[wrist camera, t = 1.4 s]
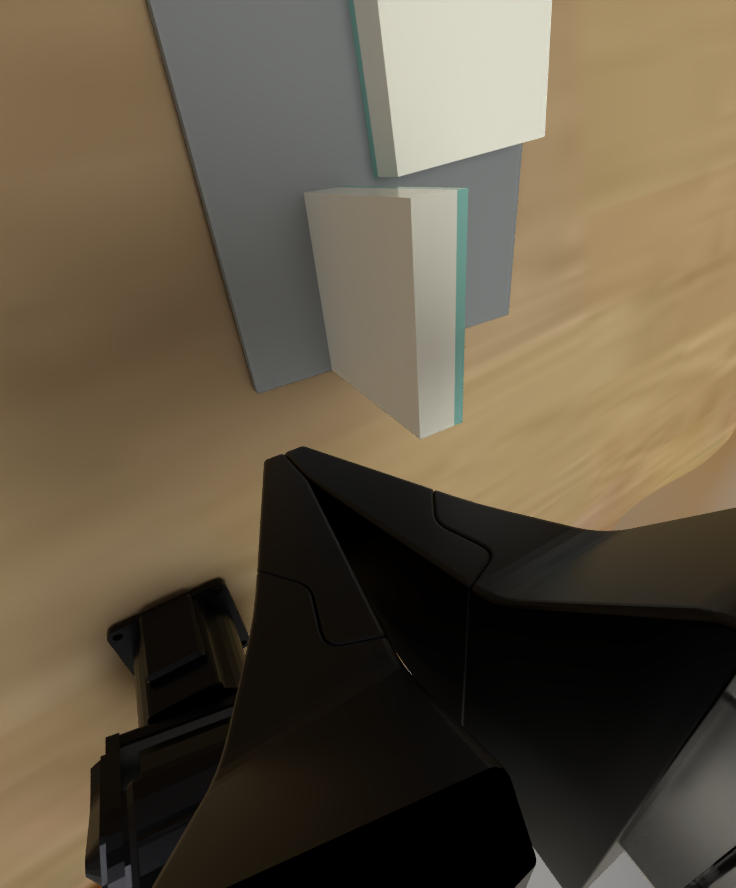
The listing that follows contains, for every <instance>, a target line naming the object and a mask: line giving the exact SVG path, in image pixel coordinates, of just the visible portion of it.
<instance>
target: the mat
mask: <svg viewBox="0 0 736 888" xmlns="http://www.w3.org/2000/svg"><path fill="white" fill-rule="evenodd" d="M146 2H147V5H148V9H149V13H150V16H151V20H152V24H153V27H154V31H155V34H156V38H157V42H158V45H159V49H160V52H161V56H162V60H163V63H164V67H165V70H166V74H167V78H168V81H169V85H170V88H171V92H172V96H173V99H174V103H175V106H176V110H177V114H178V117H179V121H180V124H181V128H182V132H183V135H184V139H185V142H186V146H187V150H188V153H189V157H190V160H191V164H192V168H193V171H194V175H195V178H196V182H197V186H198V189H199V193H200V196H201V200H202V204H203V207H204V211H205V214H206V218H207V222H208V225H209V229H210V232H211V236H212V240H213V243H214V247H215V250H216V254H217V258H218V261H219V265H220V268H221V272H222V276H223V279H224V283H225V286H226V290H227V294H228V297H229V301H230V304H231V308H232V312H233V315H234V319H235V322H236V326H237V330H238V333H239V337H240V340H241V344H242V348H243V351H244V355H245V358H246V362H247V366H248V369H249V373H250V376H251V380H252V384H253V387H254V390H255V391H256V392H257V394H259V393H262V392H265V391H268V390H271V389H274V388H278V387H281V386H284V385H287V384H290V383H293V382H297V381H300V380H303V379H306V378H309V377H312V376H316V375H319V374H322V373H325V372H328V371H331V370H332V367H331V361H330V355H329V349H328V342H327V336H326V330H325V324H324V317H323V311H322V305H321V299H320V292H319V286H318V280H317V274H316V267H315V261H314V255H313V249H312V242H311V236H310V230H309V224H308V217H307V211H306V205H305V199H304V192H311V191H317V190H324V189H330V188H337V187H343V186H381V187H446V188H468V221H467V259H466V298H465V328H467V327H471V326H474V325H477V324H480V323H483V322H486V321H490V320H493V319H496V318H499V317H502V316H505V315H508V313H509V301H510V289H511V277H512V265H513V252H514V240H515V228H516V216H517V204H518V192H519V180H520V168H521V155H522V143H520V144H516V145H512V146H509V147H505V148H501V149H498V150H494V151H491V152H487V153H483V154H480V155H476V156H472V157H469V158H465V159H461V160H458V161H454V162H451V163H447V164H443V165H440V166H436V167H432V168H429V169H425V170H421V171H418V172H414V173H410V174H407V175H403V176H400V177H374V175H373V168H372V161H371V155H370V148H369V141H368V134H367V127H366V120H365V114H364V107H363V100H362V93H361V86H360V79H359V72H358V66H357V59H356V52H355V45H354V38H353V31H352V24H351V18H350V11H349V4H348V0H146Z"/></svg>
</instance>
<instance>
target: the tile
mask: <svg viewBox="0 0 736 888" xmlns="http://www.w3.org/2000/svg"><path fill="white" fill-rule="evenodd" d="M304 199H305V205H306V211H307V217H308V224H309V230H310V236H311V242H312V249H313V255H314V261H315V267H316V274H317V280H318V286H319V292H320V299H321V305H322V311H323V317H324V324H325V330H326V336H327V342H328V349H329V355H330V361H331V367H332V371H334V372H335V373H336V374H337V375H339V376H340V377H341V378H342V379H344V380H345V381H346V382H348V383H349V384H350V385H351V386H353V387H354V388H355V389H356V390H358V391H359V392H360V393H362V394H363V395H364V396H365V397H367V398H368V399H369V400H370V401H372V402H373V403H374V404H376V405H377V406H378V407H379V408H381V409H382V410H383V411H385V412H386V413H387V414H388V415H390V416H391V417H392V418H393V419H395V420H396V421H397V422H399V423H400V424H401V425H402V426H404V427H405V428H406V429H407V430H409V431H410V432H411V433H413V434H414V435H415V436H416V437H418V438H419V439H422V438H425V437H427V436H430V435H432V434H435V433H437V432H440V431H442V430H444V429H447V428H449V427H452V426H454V425H457V424H459V423H461V422H462V415H463V376H464V337H465V298H466V259H467V221H468V188H446V187H381V186H343V187H337V188H330V189H324V190H317V191H311V192H304Z"/></svg>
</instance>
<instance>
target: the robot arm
mask: <svg viewBox="0 0 736 888" xmlns="http://www.w3.org/2000/svg"><path fill="white" fill-rule="evenodd" d="M257 573H258V574H257V580H256V594H255V603H254V612H253V620H252V625H251V630H250V636H249V635H248V632H247V630H246V628H245V626H244V623H243V621H242V619H241V617H240V614H239V612H238V610H237V608H236V605H235V603H234V601H233V599H232V596H231V594H230V592H229V590H228V587H227V585H226V583H225V581H224V580H222V579H217V580H214V581H212V582H210V583H208V584H205V585H203V586H201V587H199V588H197V589H194V590H192V591H190V592H188V593H186V594H183V595H181V596H179V597H177V598H175V599H172V600H170V601H168V602H166V603H164V604H161V605H159V606H157V607H155V608H153V609H150V610H148V611H146V612H144V613H142V614H139V615H137V616H135V617H133V618H131V619H129V620H126V621H124V622H122V623H120V624H118V625H115V626H113V627H112V628H110V629H109V630H108V632H107V640H108V643H109V644H110V645H111V646H112V648H113V649H114V650H115V652H116V653H117V654H118V655H119V657H120V658H121V659H122V661H123V662H124V663H125V665H126V666H127V667H128V668H129V670H130V671H131V672H132V674H133V675H134V677H135V688H136V700H137V711H138V723H139V728H137V729H134V730H131V731H129V732H126V733H123V734H120V735H119V733H117V734H114V735H111V736H108V737H106V755H103V756H101V759H100V761H99V762H97V763H96V764H95V765H94V766H93V767H92V768H91V797H90V817H89V827H88V836H87V846H86V856H85V873H86V877H87V878H89V879H90V880H92V881H94V882H95V883H97V884H99V885H101V886H102V888H526V886H527V883H528V881H529V879H530V876H531V874H532V872H533V869H534V867H535V865H536V856H535V853H534V849H535V850H536V851H537V853H538V854H539V855H540V857H541V858H542V860H543V861H544V863H545V864H546V866H547V867H548V868H549V870H550V871H551V873H552V874H553V875H554V877H555V878H556V880H557V881H558V882H559V884H560V885H561V887H562V888H588V887H589V886H590V885H591V884H592V883H593V882H594V881H595V880H596V879H597V878H598V877H599V876H600V875H601V874H602V873H603V872H604V871H605V870H606V869H607V868H608V867H609V865H611V864H612V863H613V862H614V861H615V860H616V859H617V858H618V856H620V854H622V853H623V852H625V853H626V854H627V856H628V857H629V858H630V859H631V861H632V862H633V863H634V864H635V866H636V867H637V868H638V869H639V870H640V872H641V873H642V874H643V876H644V877H645V878H646V879H647V881H648V882H649V883H650V884H651V886H652V887H653V888H736V508H732V509H727V510H722V511H717V512H712V513H707V514H702V515H697V516H692V517H687V518H682V519H677V520H672V521H667V522H662V523H657V524H652V525H647V526H642V527H637V528H632V529H626V530H617V531H595V530H586V529H581V528H576V527H571V526H567V525H563V524H559V523H555V522H550V521H546V520H542V519H538V518H534V517H529V516H525V515H521V514H517V513H513V512H508V511H504V510H501V509H497V508H493V507H489V506H485V505H481V504H478V503H474V502H471V501H468V500H464V499H461V498H458V497H455V496H452V495H449V494H446V493H443V492H440V491H434V493H433V490H432V489H430V488H427V487H424V486H421V485H418V484H415V483H412V482H409V481H406V480H403V479H400V478H397V477H394V476H391V475H388V474H385V473H382V472H379V471H376V470H373V469H370V468H367V467H364V466H361V465H358V464H355V463H352V462H349V461H346V460H343V459H340V458H337V457H334V456H331V455H328V454H325V453H322V452H319V451H316V450H313V449H310V448H307V447H304V446H303V447H299V448H296V449H294V450H291V451H288V452H286V454H285V455H283V454H280V455H278V456H275V457H272V458H270V459H267V460H265V462H264V472H263V488H262V504H261V520H260V536H259V552H258V568H257ZM218 587H220V588H218ZM216 588H218V589H216ZM116 634H119V635H116ZM246 646H247V651H246V655H245V654H244V650H243V648H245V647H246ZM395 651H396V652H395ZM396 653H397V654H398V655H397V654H396ZM398 656H399V657H400V658H401V660H402V661H403V663H404V664H405V666H406V667H407V668H408V670H409V671H410V672H411V674H412V675H413V676H412V675H411V674H410V672H409V671H408V670H407V669H406V668H405V666H404V665H403V663H402V662H401V660H400V659H399V657H398ZM533 847H534V849H533Z"/></svg>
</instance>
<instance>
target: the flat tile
mask: <svg viewBox="0 0 736 888" xmlns="http://www.w3.org/2000/svg"><path fill="white" fill-rule="evenodd" d="M348 4H349V11H350V18H351V24H352V31H353V38H354V45H355V52H356V59H357V66H358V72H359V79H360V86H361V93H362V100H363V107H364V114H365V120H366V127H367V134H368V141H369V148H370V155H371V161H372V168H373V175H374V177H400V176H403V175H407V174H410V173H414V172H418V171H421V170H425V169H429V168H432V167H436V166H440V165H443V164H447V163H451V162H454V161H458V160H461V159H465V158H469V157H472V156H476V155H480V154H483V153H487V152H491V151H494V150H498V149H501V148H505V147H509V146H512V145H516V144H520V143H523V142H527V141H531V140H534V139H538V138H542V137H545V121H546V102H547V83H548V65H549V46H550V27H551V8H552V0H348Z"/></svg>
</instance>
